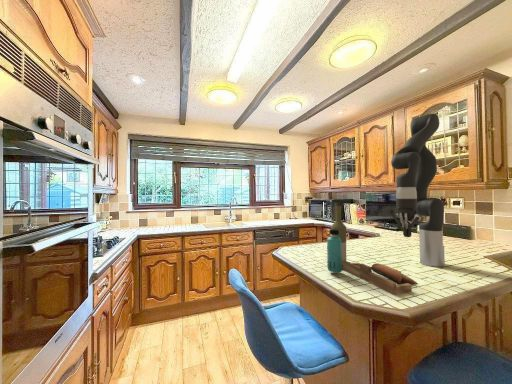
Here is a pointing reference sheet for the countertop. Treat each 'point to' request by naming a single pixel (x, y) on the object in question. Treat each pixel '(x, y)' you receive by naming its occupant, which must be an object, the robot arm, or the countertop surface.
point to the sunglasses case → (393, 274)
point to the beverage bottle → (334, 252)
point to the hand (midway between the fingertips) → (407, 236)
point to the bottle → (340, 231)
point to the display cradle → (375, 278)
